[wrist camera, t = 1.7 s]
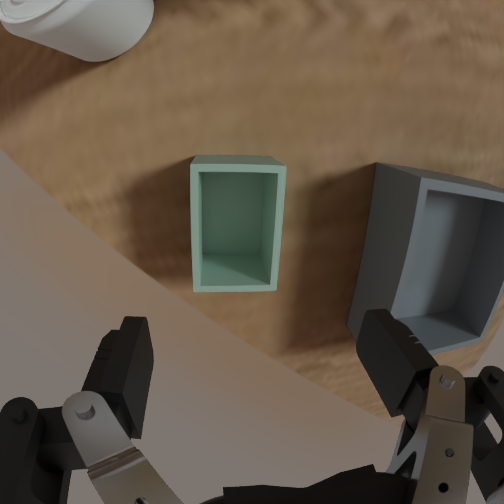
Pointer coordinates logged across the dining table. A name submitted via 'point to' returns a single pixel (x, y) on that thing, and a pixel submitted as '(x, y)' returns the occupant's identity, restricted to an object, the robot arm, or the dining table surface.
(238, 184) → the small crate
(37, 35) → the white cylinder
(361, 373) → the dining table surface
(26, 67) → the dining table surface
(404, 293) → the big crate
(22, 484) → the robot arm
